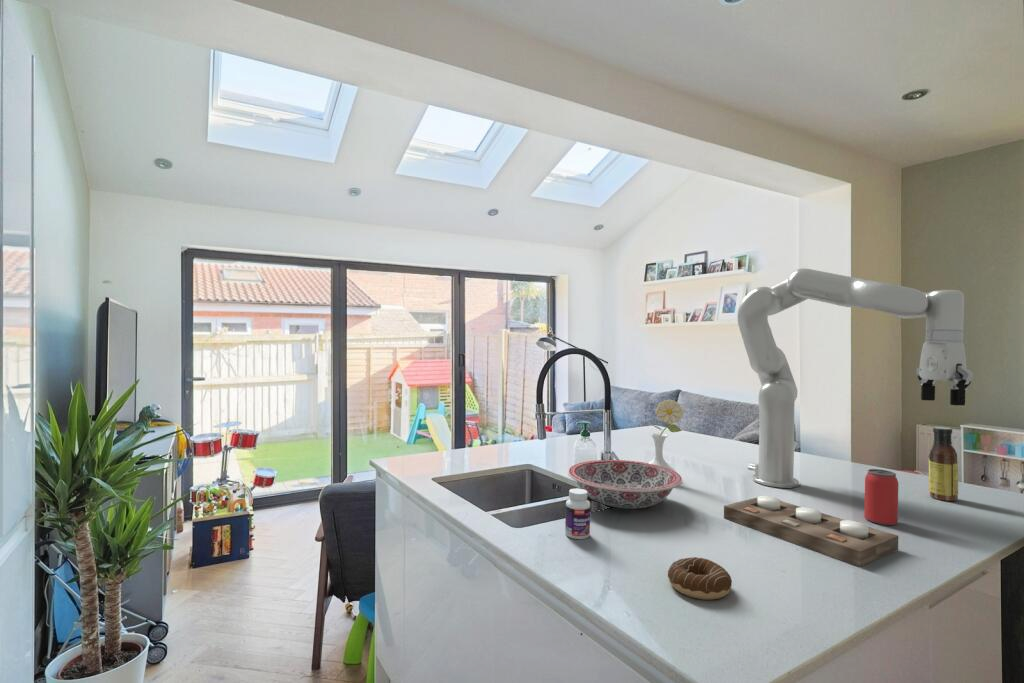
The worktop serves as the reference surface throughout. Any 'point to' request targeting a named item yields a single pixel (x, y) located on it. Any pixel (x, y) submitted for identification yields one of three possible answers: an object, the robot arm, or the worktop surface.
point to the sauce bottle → (943, 466)
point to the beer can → (881, 497)
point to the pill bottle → (577, 514)
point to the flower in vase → (669, 414)
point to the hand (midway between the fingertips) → (942, 402)
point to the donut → (699, 578)
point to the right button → (854, 529)
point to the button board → (813, 532)
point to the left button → (768, 503)
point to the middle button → (808, 515)
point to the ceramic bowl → (625, 482)
